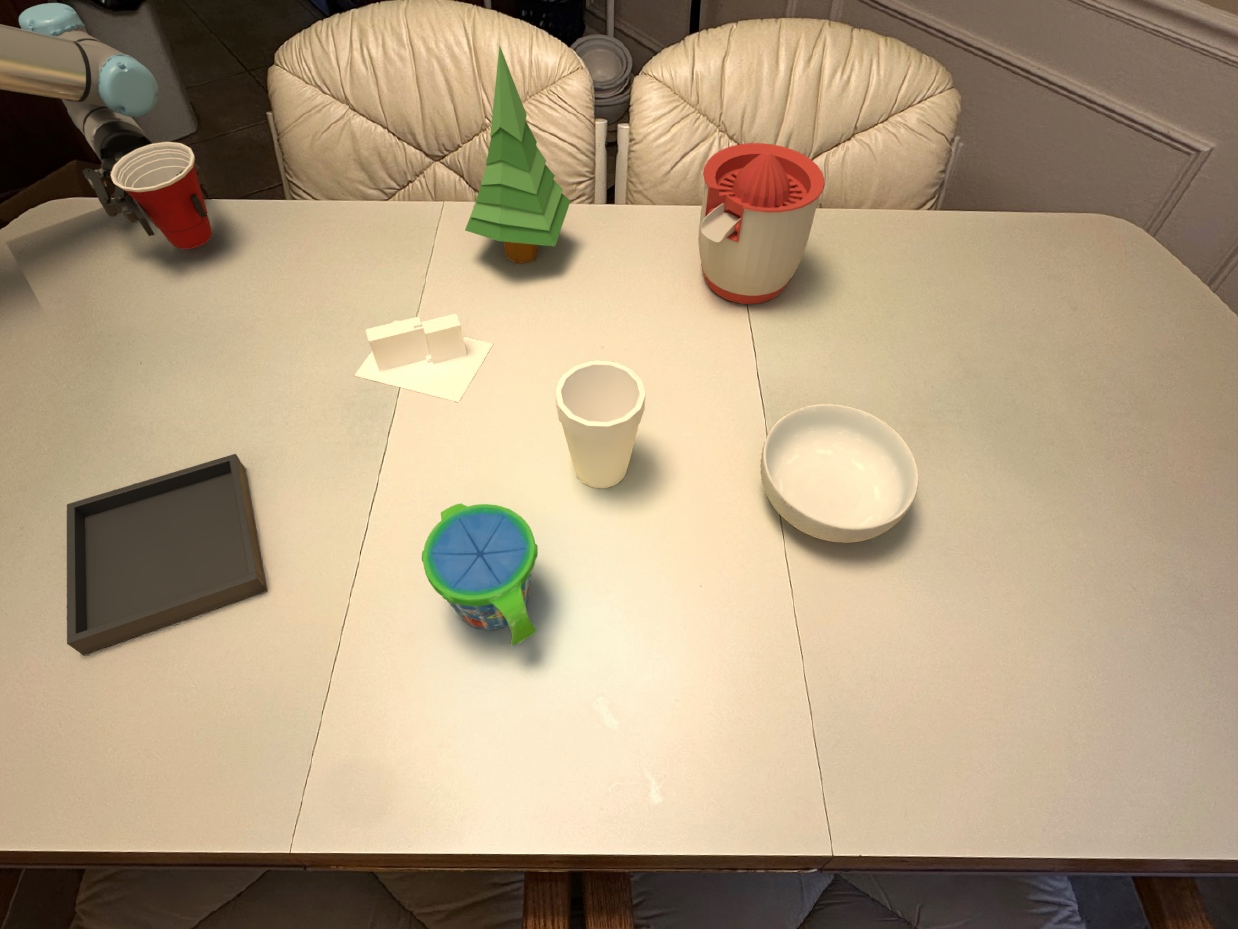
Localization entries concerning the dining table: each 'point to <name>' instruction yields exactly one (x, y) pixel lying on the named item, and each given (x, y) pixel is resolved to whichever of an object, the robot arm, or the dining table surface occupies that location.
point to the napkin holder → (424, 356)
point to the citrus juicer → (756, 219)
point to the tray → (160, 553)
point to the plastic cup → (166, 190)
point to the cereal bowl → (838, 472)
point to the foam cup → (600, 419)
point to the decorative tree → (516, 181)
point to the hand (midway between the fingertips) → (174, 217)
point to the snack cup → (483, 566)
